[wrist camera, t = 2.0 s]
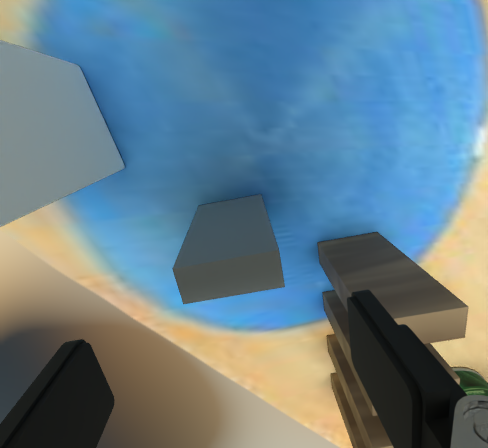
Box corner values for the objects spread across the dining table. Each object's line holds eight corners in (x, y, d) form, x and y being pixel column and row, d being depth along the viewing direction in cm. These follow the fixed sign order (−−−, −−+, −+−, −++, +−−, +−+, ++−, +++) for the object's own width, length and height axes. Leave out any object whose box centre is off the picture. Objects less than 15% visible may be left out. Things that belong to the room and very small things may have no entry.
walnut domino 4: (330, 373, 29) (374, 494, 20) (379, 366, 29) (447, 484, 20) (332, 387, 30) (375, 510, 21) (379, 380, 30) (445, 501, 20)
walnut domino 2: (322, 292, 26) (371, 392, 16) (378, 282, 26) (460, 378, 16) (324, 310, 26) (372, 416, 17) (378, 301, 26) (457, 403, 17)
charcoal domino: (198, 205, 23) (172, 268, 13) (261, 193, 22) (279, 250, 13) (204, 228, 23) (183, 304, 14) (264, 217, 23) (284, 286, 14)
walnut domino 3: (326, 335, 28) (373, 448, 18) (378, 327, 27) (453, 437, 18) (328, 351, 28) (374, 467, 19) (379, 343, 28) (450, 456, 19)
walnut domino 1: (317, 242, 24) (369, 322, 15) (377, 231, 24) (468, 306, 14) (319, 263, 25) (370, 352, 15) (377, 253, 25) (464, 337, 15)
